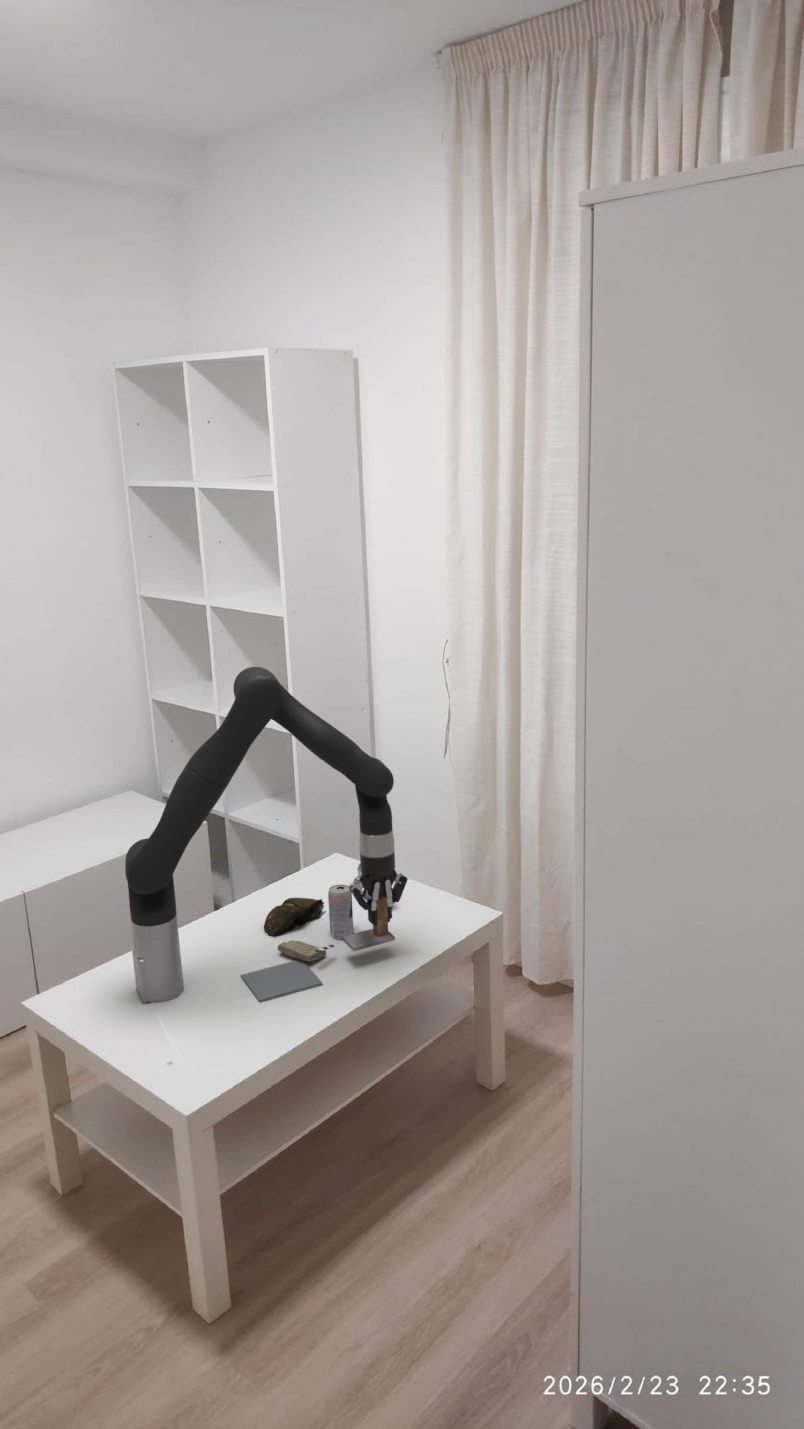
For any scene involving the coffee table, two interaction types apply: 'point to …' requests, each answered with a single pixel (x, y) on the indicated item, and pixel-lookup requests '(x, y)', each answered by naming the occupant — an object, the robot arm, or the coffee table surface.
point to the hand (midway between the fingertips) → (380, 922)
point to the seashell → (292, 915)
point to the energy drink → (340, 911)
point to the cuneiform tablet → (303, 950)
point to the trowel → (372, 930)
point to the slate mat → (281, 980)
